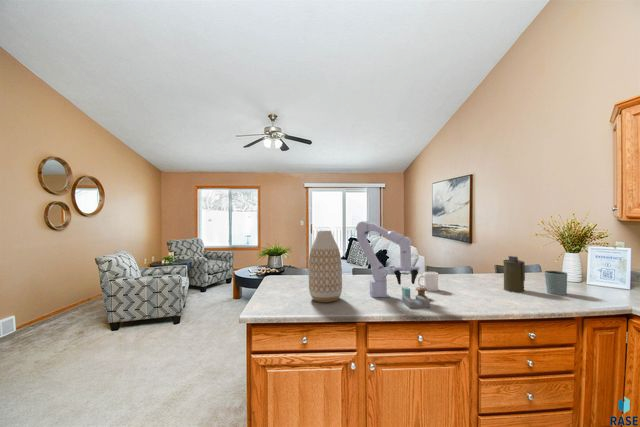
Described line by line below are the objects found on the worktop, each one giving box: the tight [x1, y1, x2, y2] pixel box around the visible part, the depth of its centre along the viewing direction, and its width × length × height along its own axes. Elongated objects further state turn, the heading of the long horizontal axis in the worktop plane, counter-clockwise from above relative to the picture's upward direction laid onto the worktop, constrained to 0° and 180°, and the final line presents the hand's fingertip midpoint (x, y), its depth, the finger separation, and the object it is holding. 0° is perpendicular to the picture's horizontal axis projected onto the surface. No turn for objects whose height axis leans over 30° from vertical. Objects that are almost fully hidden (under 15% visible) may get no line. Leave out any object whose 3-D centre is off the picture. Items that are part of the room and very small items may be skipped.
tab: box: [401, 286, 411, 298], centre depth 157 cm, size 3×7×6 cm, turn 5°
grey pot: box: [544, 270, 568, 296], centre depth 164 cm, size 10×10×12 cm
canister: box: [502, 255, 526, 294], centre depth 171 cm, size 11×10×20 cm
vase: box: [308, 230, 343, 303], centre depth 160 cm, size 19×18×38 cm
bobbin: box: [415, 286, 428, 300], centre depth 160 cm, size 6×6×5 cm
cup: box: [417, 271, 439, 292], centre depth 176 cm, size 8×12×10 cm
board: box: [401, 295, 431, 309], centre depth 148 cm, size 10×10×3 cm
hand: (406, 283), depth 158 cm, fingers open, 7 cm apart
